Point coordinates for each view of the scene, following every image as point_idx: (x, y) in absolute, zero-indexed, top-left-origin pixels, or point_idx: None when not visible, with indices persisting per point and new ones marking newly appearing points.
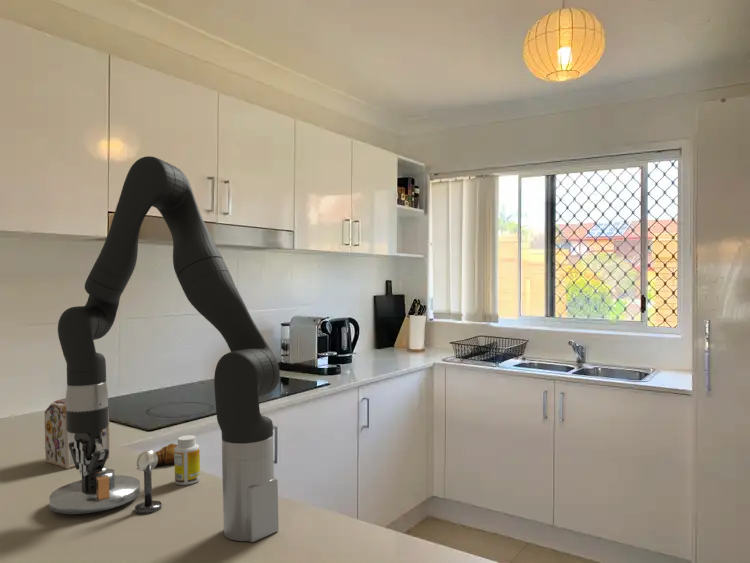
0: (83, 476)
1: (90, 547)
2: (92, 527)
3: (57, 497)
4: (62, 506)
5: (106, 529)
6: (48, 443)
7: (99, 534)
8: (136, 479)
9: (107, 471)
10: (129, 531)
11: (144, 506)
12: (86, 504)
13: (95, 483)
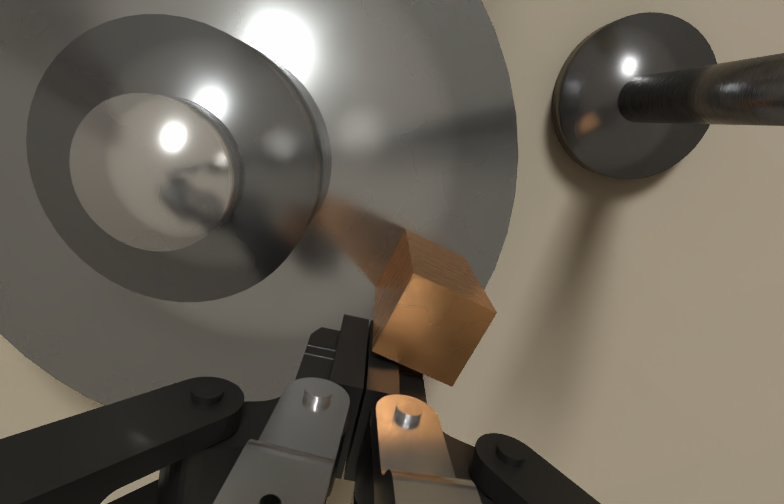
0: (348, 475)
1: (668, 498)
2: (514, 381)
3: (133, 378)
4: None
5: (598, 370)
6: None
7: (608, 414)
8: None
9: (199, 92)
10: (724, 344)
11: (630, 125)
12: None
13: (421, 377)
